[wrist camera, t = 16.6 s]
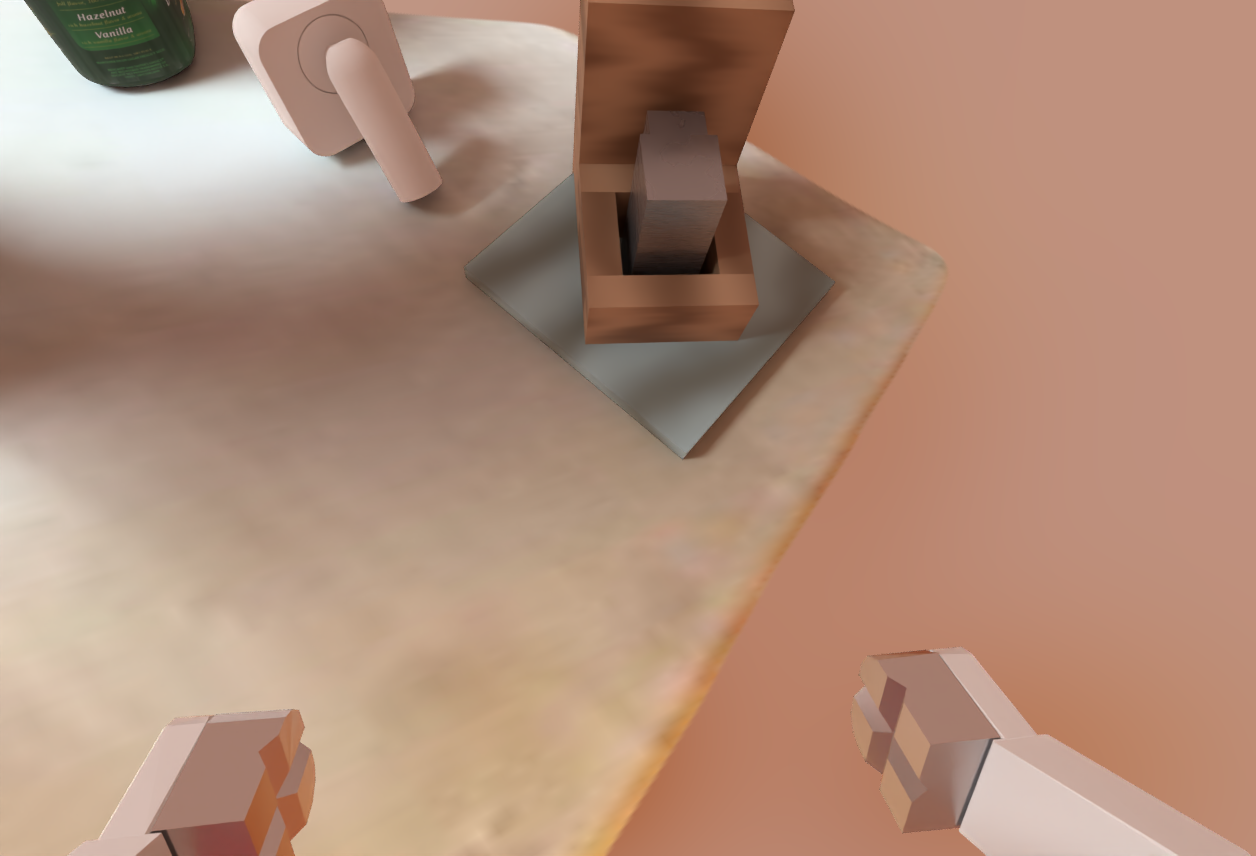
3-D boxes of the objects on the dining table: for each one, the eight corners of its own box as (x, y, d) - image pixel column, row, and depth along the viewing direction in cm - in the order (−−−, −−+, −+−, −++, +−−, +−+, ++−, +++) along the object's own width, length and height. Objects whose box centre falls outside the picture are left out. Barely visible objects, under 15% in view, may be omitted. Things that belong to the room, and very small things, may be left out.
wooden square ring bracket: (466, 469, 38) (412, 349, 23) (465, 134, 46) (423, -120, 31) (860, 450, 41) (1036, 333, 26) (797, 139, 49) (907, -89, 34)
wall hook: (383, 240, 42) (309, 93, 33) (305, 163, 46) (220, 14, 37) (486, 177, 44) (442, 25, 36) (403, 109, 48) (345, -43, 40)
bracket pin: (625, 303, 42) (647, 200, 32) (618, 228, 43) (637, 110, 34) (687, 302, 42) (727, 200, 33) (678, 228, 44) (713, 111, 35)
